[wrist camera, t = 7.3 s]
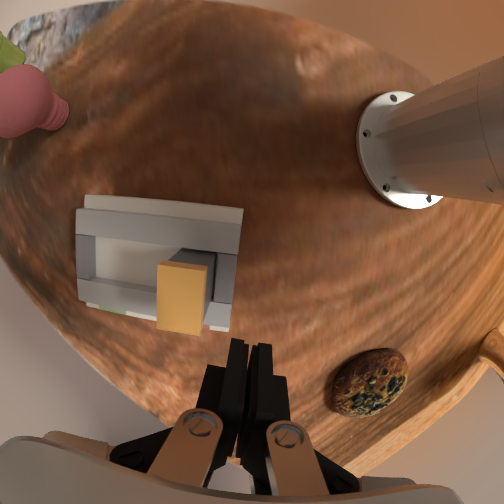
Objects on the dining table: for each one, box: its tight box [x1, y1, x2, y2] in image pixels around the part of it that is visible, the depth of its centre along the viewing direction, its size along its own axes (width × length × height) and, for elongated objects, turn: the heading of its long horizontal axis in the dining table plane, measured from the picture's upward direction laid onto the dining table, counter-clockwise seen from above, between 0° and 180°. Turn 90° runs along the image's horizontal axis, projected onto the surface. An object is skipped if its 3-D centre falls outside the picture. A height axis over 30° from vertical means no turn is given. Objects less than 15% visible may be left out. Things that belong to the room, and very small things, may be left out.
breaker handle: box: [157, 248, 217, 336], centre depth 22 cm, size 3×5×7 cm
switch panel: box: [76, 194, 244, 332], centre depth 25 cm, size 16×12×3 cm
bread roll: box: [332, 348, 408, 418], centre depth 29 cm, size 11×11×5 cm
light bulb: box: [0, 64, 69, 138], centre depth 17 cm, size 7×7×12 cm
